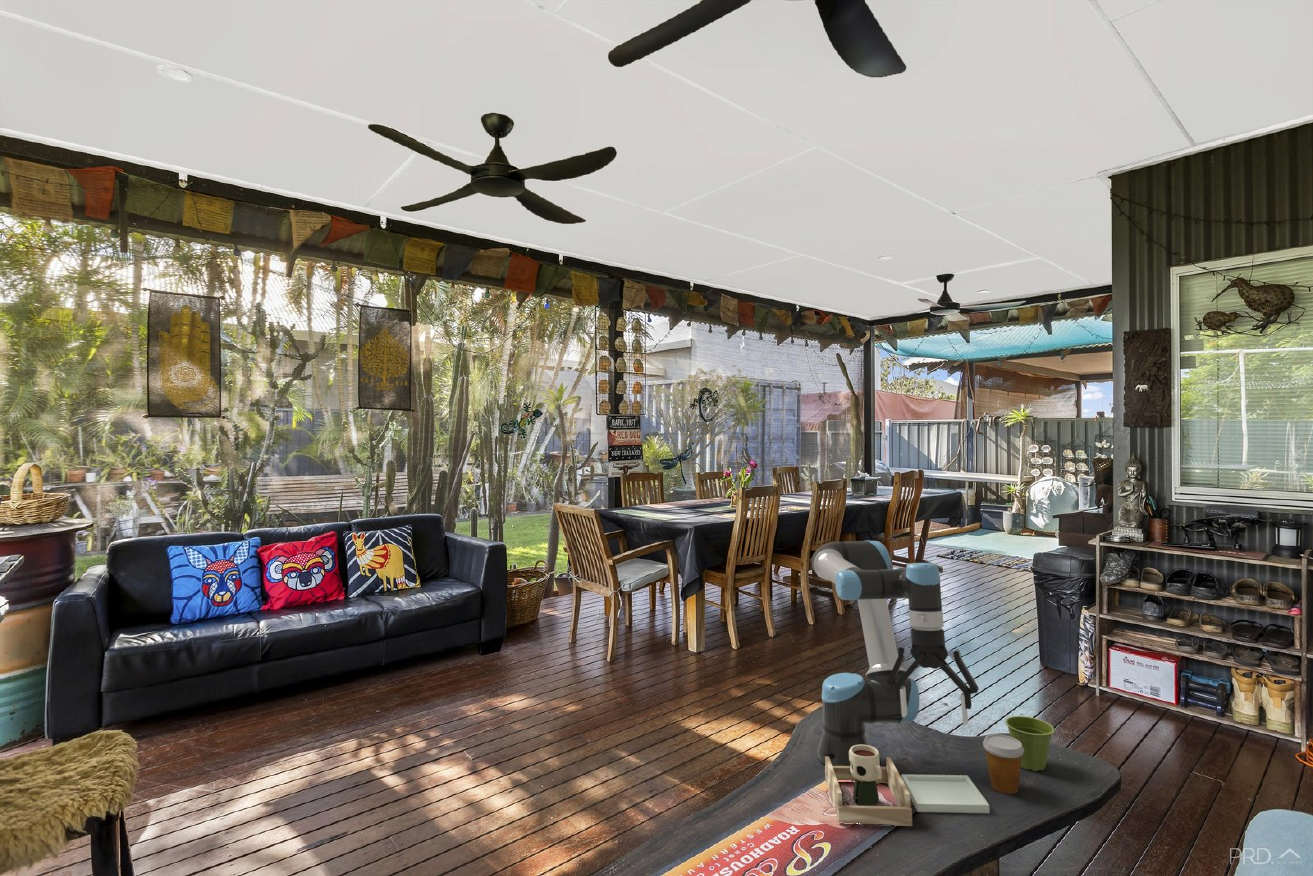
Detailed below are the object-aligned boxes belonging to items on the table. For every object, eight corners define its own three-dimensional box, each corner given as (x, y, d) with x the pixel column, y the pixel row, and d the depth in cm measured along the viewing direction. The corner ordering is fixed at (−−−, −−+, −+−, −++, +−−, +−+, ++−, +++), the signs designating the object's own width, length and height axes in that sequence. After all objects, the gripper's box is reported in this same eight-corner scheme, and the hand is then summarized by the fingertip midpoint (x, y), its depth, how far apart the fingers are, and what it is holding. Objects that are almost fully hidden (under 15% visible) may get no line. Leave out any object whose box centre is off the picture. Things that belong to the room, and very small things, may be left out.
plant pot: (1045, 781, 173) (1043, 738, 173) (998, 764, 183) (997, 724, 183) (1062, 766, 181) (1061, 725, 181) (1017, 751, 190) (1016, 712, 190)
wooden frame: (825, 780, 177) (824, 754, 177) (890, 781, 175) (889, 755, 175) (839, 824, 157) (838, 795, 157) (912, 826, 155) (911, 796, 155)
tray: (901, 782, 175) (901, 774, 175) (967, 783, 174) (967, 775, 174) (917, 811, 161) (917, 803, 161) (989, 813, 160) (989, 805, 160)
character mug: (840, 795, 169) (838, 745, 169) (860, 788, 173) (859, 739, 173) (871, 816, 160) (869, 763, 160) (892, 808, 163) (891, 756, 163)
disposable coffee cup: (1031, 799, 165) (1029, 751, 165) (990, 796, 167) (988, 749, 167) (1018, 779, 174) (1016, 734, 174) (979, 777, 176) (978, 732, 176)
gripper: (870, 627, 163) (877, 716, 160) (982, 633, 150) (991, 730, 147) (878, 622, 169) (884, 708, 166) (985, 628, 156) (994, 721, 153)
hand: (934, 719), depth 157 cm, fingers open, 13 cm apart
